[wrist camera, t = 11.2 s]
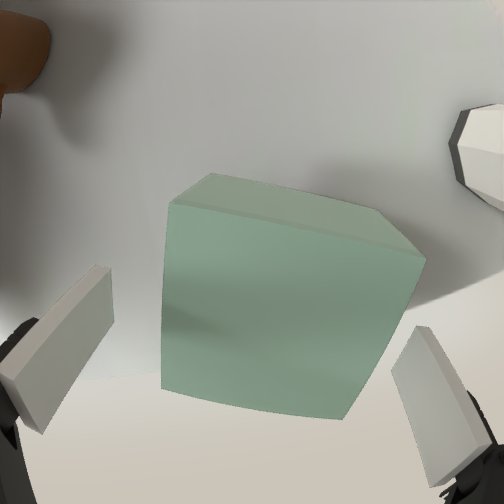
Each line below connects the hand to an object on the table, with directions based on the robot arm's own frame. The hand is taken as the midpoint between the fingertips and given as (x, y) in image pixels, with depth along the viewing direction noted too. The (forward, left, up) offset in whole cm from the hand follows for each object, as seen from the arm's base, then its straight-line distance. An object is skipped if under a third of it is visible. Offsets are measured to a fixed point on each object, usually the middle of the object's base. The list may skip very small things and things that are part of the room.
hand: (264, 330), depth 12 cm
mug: (-25, +11, -12) cm, 29 cm away
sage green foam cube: (0, 0, -6) cm, 6 cm away
